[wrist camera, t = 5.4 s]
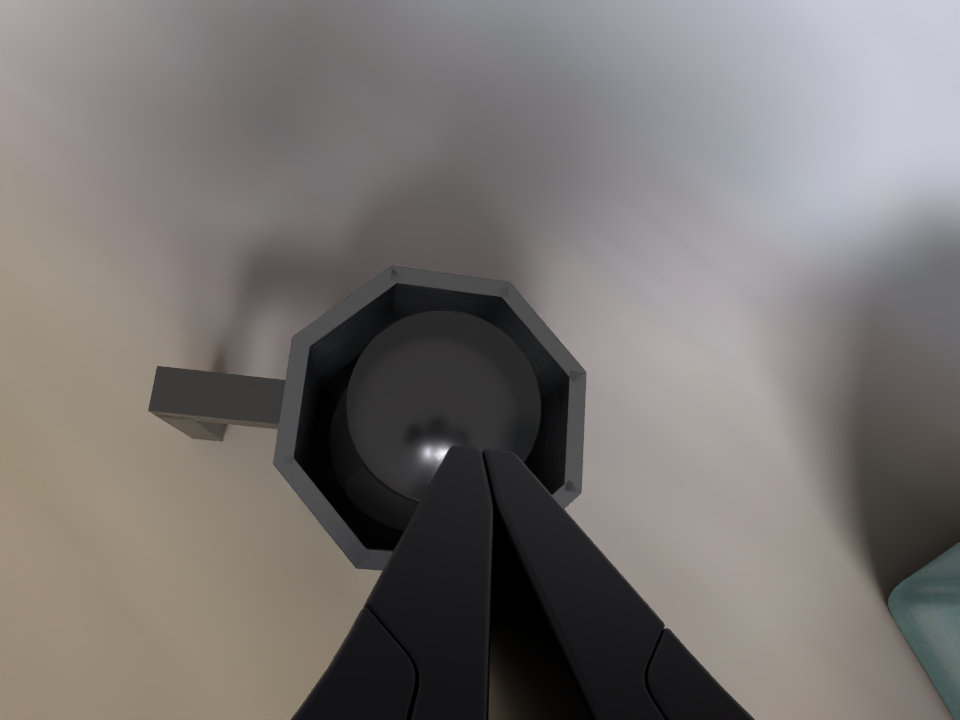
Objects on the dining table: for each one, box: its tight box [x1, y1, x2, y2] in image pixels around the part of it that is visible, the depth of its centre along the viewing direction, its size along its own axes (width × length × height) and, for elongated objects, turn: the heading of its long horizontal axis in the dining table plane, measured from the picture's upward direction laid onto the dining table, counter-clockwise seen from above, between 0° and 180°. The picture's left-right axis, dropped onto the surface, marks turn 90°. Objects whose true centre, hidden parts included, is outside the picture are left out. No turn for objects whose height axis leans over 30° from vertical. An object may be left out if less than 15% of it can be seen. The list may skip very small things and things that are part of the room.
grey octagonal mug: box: [148, 266, 586, 570], centre depth 18 cm, size 7×10×5 cm
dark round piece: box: [330, 310, 541, 531], centre depth 17 cm, size 5×5×6 cm
